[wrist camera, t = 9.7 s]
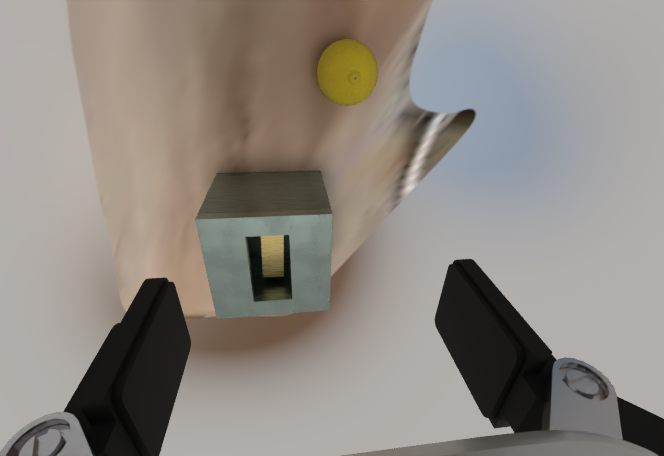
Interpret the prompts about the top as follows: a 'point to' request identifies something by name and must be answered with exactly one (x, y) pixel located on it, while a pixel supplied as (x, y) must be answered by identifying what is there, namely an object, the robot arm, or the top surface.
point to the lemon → (347, 72)
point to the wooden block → (272, 255)
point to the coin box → (245, 242)
